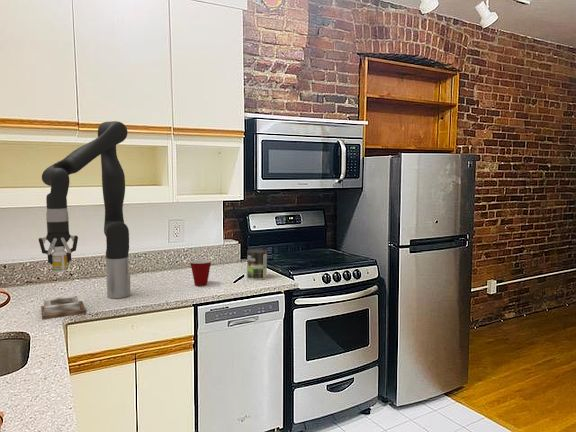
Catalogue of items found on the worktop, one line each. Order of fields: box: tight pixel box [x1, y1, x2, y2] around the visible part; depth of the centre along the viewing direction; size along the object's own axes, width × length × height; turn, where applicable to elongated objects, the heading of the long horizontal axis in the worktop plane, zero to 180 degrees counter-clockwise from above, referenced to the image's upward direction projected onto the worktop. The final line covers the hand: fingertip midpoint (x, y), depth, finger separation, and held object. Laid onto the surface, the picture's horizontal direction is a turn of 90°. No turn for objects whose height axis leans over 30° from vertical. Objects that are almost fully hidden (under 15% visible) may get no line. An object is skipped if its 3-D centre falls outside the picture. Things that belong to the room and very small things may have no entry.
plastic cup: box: [188, 259, 213, 287], centre depth 218 cm, size 11×11×12 cm
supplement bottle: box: [51, 246, 69, 273], centre depth 176 cm, size 5×5×10 cm
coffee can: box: [246, 248, 268, 281], centre depth 233 cm, size 10×10×14 cm
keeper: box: [40, 295, 87, 320], centre depth 178 cm, size 15×14×4 cm
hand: (59, 262), depth 176 cm, fingers closed on supplement bottle, 5 cm apart
